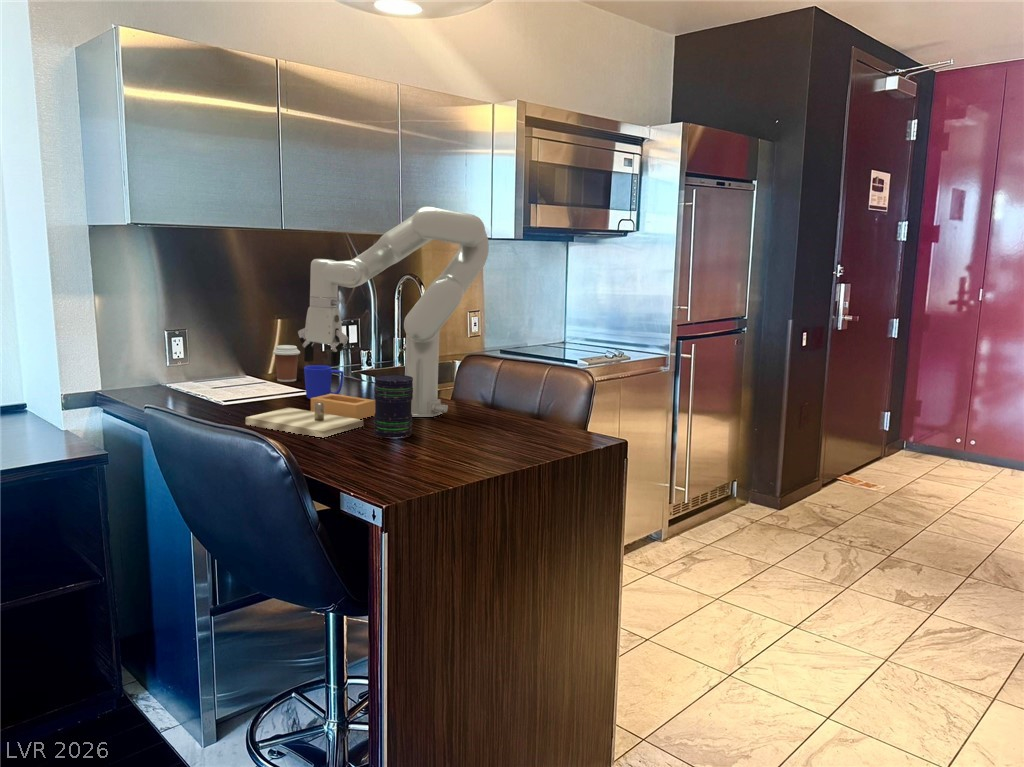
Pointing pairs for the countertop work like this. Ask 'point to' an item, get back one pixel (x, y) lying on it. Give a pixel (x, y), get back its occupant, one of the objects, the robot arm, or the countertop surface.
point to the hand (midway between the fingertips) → (322, 363)
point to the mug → (319, 380)
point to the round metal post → (319, 411)
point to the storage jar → (393, 405)
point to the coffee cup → (286, 362)
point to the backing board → (303, 422)
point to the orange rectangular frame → (345, 406)
